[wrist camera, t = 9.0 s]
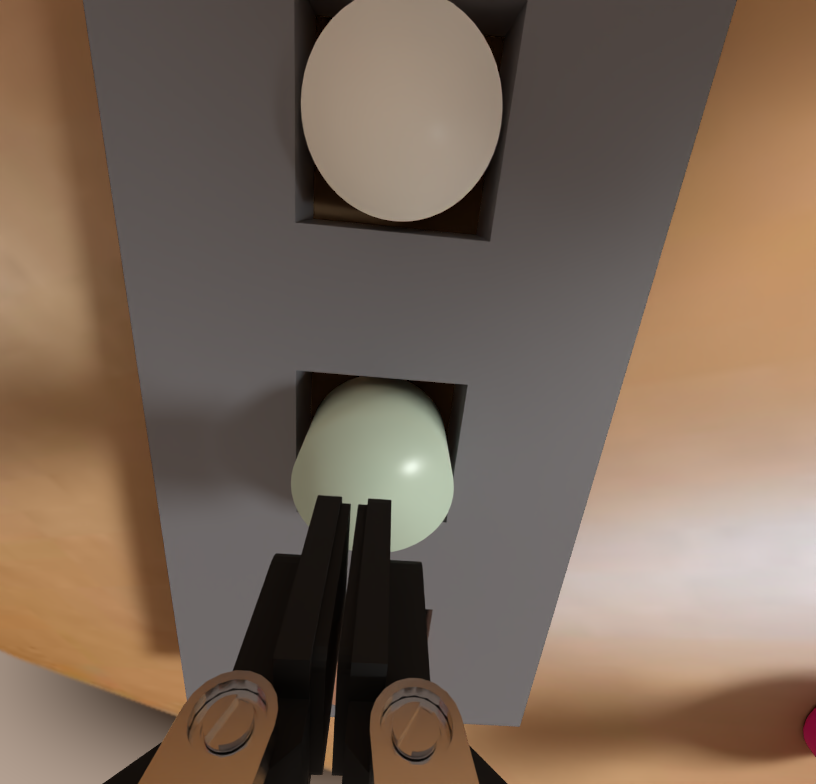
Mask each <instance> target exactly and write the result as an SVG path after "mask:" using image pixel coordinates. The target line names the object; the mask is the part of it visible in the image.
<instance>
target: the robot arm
mask: <svg viewBox="0 0 816 784" xmlns="http://www.w3.org/2000/svg"><path fill="white" fill-rule="evenodd" d="M350 513H351V504H348V503H342V497H340V496H325V495H318V496H317V499H316V503H315V507H314V510H313V514H312V518H311V521H310V525H309V528H308V532H307V536H306V539H305V543H304V547H303V550H302V554H301V555H298V554H280V553H276V554H275V555H274V556H273V559H272V561H271V564H270V566H269V569H268V572H267V575H266V578H265V581H264V583H263V586H262V589H261V592H260V595H259V598H258V600H257V603H256V606H255V609H254V612H253V614H252V617H251V620H250V623H249V626H248V629H247V631H246V634H245V637H244V640H243V643H242V646H241V648H240V651H239V654H238V657H237V660H236V663H235V665H234V668H233V671H231V672H227V673H223V674H220V675H218V676H216V677H214V678H212V679H210V680H208V681H206V682H205V683H204V684H203V685H202V686H201V687H199V688H198V689H197V690H196V691H195V692H193V694H192V695H191V696H190V698H189V699H188V700H187V702H186V703H185V704H184V706H183V707H182V709H181V711H180V712H179V714H178V716H177V717H176V719H175V721H174V723H173V724H172V726H171V728H170V730H169V732H168V733H167V735H166V737H165V738H164V740H163V742H161V743H160V744H159V745H157V746H156V747H154V748H153V749H151V750H150V751H149V752H147V753H146V754H144V755H143V756H141V757H140V758H139V759H137V760H136V761H134V762H133V763H132V764H130V765H129V766H127V767H126V768H124V769H123V770H122V771H120V772H119V773H117V774H116V775H114V776H113V777H112V778H110V779H109V780H107V781H106V782H105V783H103V784H310V779H311V775H322V774H323V768H324V761H325V753H326V746H327V738H328V731H329V723H330V715H331V708H332V700H333V693H334V685H335V678H336V670H337V680H336V701H335V722H334V742H333V763H332V775H339V776H343V777H342V784H507V783H506V782H505V781H504V780H503V779H502V778H501V777H500V776H499V775H498V774H497V773H496V772H495V771H494V770H493V769H492V768H491V767H490V766H489V765H488V764H487V763H486V762H485V761H484V760H483V759H482V758H481V757H480V756H479V755H478V754H477V753H476V752H475V751H474V750H473V749H472V748H471V747H470V746H469V743H468V739H467V736H466V732H465V728H464V724H463V721H462V717H461V715H460V712H459V710H458V707H457V705H456V703H455V702H454V700H453V699H452V698H451V697H450V695H449V694H448V693H447V692H446V691H445V690H444V689H442V688H441V687H439V686H438V685H437V684H435V683H433V682H430V669H429V654H428V639H427V624H426V609H425V594H424V579H423V566H422V562H418V561H401V560H390V547H391V500H386V499H371V498H368V504H367V505H363V504H358V509H357V517H356V524H355V532H354V539H353V547H352V554H351V562H350V569H349V577H348V584H347V568H348V550H349V531H350ZM346 587H347V592H346ZM337 662H338V664H337Z"/></svg>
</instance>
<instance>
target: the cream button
mask: <svg viewBox="0 0 816 784" xmlns="http://www.w3.org/2000/svg"><path fill="white" fill-rule="evenodd" d="M301 115H302V124H303V129H304V135H305V138H306V142H307V145H308V148H309V151H310V153H311V156H312V158H313V160H314V162H315V164H316V166H317V168H318V170H319V171H320V173H321V175H322V176H323V177H324V179H325V180H326V182H327V183H328V184H329V186H330V187H331V188H332V189H333V190H334V191H335V192H336V193H337V194H338V195H339V196H340V197H341V198H342V199H344V200H345V201H346V202H347V203H349V204H350V205H352V206H353V207H355V208H356V209H358V210H360V211H362V212H364V213H366V214H368V215H370V216H373V217H377V218H380V219H384V220H390V221H405V222H406V221H415V220H421V219H425V218H428V217H431V216H434V215H436V214H439V213H441V212H443V211H445V210H446V209H448V208H450V207H452V206H453V205H454V204H456V203H457V202H458V201H460V200H461V199H462V198H463V197H464V196H465V195H466V194H467V193H468V192H469V191H470V190H471V189H472V188H473V187H474V186H475V184H476V183H477V182H478V181H479V179H480V178H481V176H482V175H483V173H484V171H485V170H486V168H487V167H488V164H489V162H490V160H491V158H492V156H493V154H494V151H495V147H496V144H497V141H498V138H499V133H500V128H501V121H502V89H501V82H500V77H499V73H498V69H497V65H496V62H495V59H494V57H493V54H492V52H491V49H490V47H489V45H488V44H487V42H486V40H485V38H484V36H483V35H482V33H481V32H480V30H479V29H478V28H477V26H476V25H475V23H474V22H473V21H472V20H471V19H470V18H469V17H468V16H467V15H466V14H465V13H464V12H463V11H462V10H460V9H459V8H458V7H457V6H455V5H454V4H453V3H451V2H450V1H448V0H354V1H353V2H351V3H350V4H348V5H347V6H345V7H344V8H343V9H342V10H341V11H340V12H339V13H338V14H336V15H335V16H334V17H333V18H332V20H331V21H330V22H329V23H328V25H327V26H326V27H325V28H324V30H323V31H322V33H321V34H320V36H319V38H318V39H317V41H316V43H315V45H314V47H313V49H312V52H311V54H310V56H309V59H308V62H307V65H306V69H305V72H304V78H303V83H302V92H301Z"/></svg>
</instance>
